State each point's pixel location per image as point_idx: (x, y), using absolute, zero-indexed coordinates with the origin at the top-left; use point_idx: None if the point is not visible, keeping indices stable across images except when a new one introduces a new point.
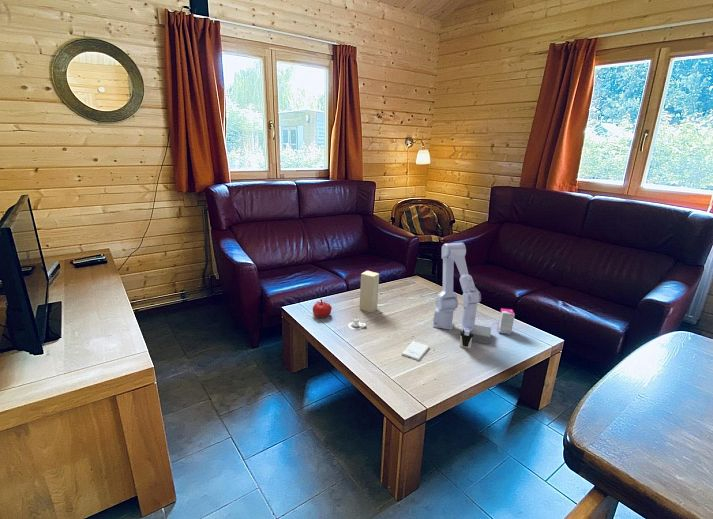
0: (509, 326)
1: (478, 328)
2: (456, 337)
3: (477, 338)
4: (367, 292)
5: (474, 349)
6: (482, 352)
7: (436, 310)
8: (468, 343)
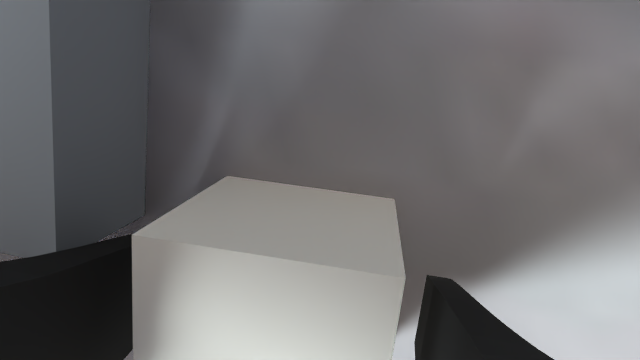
0: None
1: None
2: None
3: (111, 72)
4: None
5: (414, 139)
6: (492, 7)
7: None
8: (484, 312)
